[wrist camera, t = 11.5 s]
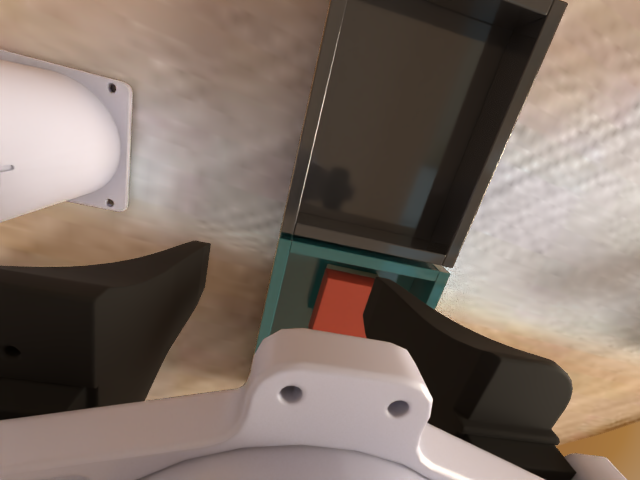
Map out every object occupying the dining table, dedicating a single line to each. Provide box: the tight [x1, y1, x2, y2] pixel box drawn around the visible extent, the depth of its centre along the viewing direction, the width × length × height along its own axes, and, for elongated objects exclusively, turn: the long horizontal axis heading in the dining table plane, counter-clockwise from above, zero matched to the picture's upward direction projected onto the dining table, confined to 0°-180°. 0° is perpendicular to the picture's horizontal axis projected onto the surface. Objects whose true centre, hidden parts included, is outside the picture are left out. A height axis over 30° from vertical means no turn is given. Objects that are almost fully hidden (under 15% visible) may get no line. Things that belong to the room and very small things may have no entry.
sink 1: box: [248, 223, 450, 377], centre depth 24 cm, size 12×15×3 cm
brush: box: [308, 264, 379, 338], centre depth 23 cm, size 5×11×3 cm, turn 165°
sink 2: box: [281, 0, 568, 268], centre depth 18 cm, size 12×15×3 cm
